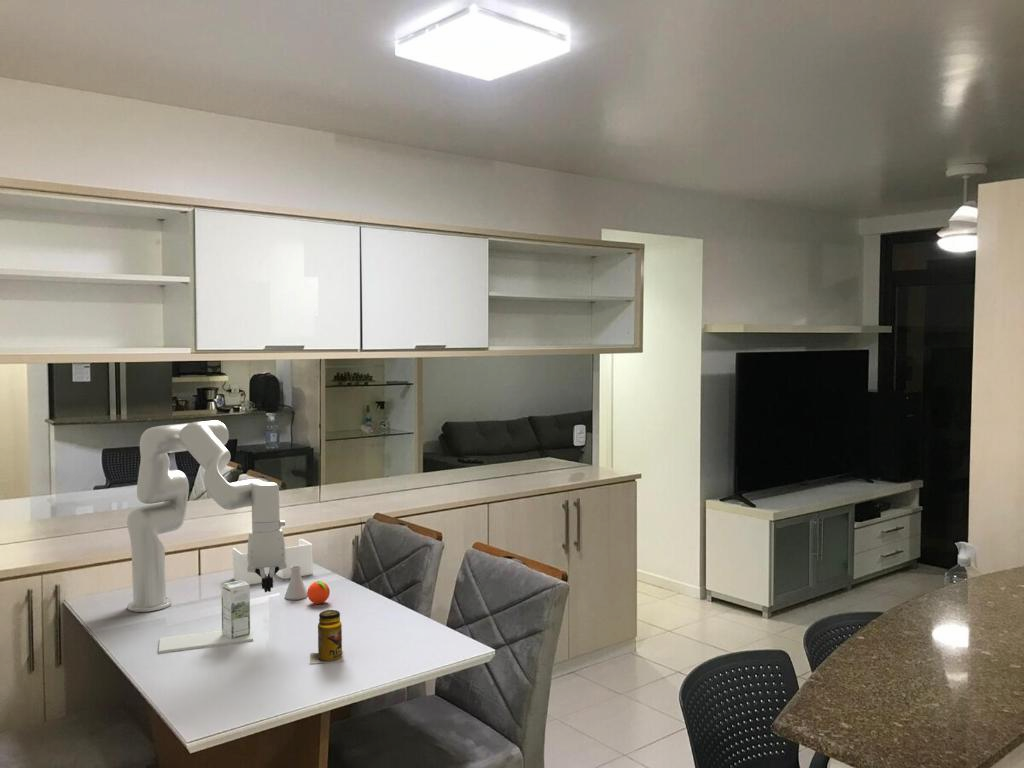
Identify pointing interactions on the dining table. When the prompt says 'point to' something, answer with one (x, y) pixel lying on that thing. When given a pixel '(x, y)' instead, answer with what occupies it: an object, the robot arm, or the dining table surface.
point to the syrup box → (235, 609)
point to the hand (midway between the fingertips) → (267, 590)
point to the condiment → (328, 638)
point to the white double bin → (293, 558)
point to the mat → (199, 641)
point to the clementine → (318, 592)
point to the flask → (296, 585)
